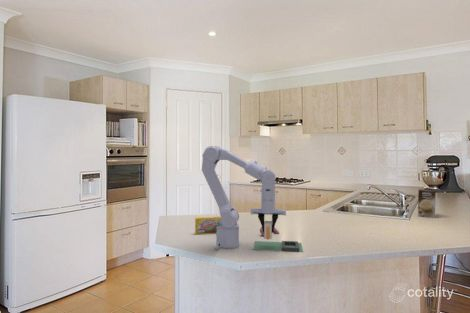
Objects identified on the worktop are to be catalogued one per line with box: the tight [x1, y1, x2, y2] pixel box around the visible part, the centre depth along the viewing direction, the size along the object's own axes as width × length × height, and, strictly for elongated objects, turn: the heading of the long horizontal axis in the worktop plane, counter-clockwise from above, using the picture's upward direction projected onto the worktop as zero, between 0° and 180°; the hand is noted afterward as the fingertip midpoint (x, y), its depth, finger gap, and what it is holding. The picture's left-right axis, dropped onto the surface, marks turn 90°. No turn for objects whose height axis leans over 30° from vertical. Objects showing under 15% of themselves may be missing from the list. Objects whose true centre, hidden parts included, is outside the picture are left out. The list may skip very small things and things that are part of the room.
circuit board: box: [252, 240, 304, 253], centre depth 130 cm, size 20×12×1 cm, turn 82°
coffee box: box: [417, 189, 436, 219], centre depth 190 cm, size 9×6×16 cm
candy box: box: [194, 215, 222, 235], centre depth 154 cm, size 16×2×8 cm, turn 101°
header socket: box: [281, 240, 300, 253], centre depth 127 cm, size 7×9×2 cm
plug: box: [263, 220, 273, 240], centre depth 128 cm, size 3×5×6 cm, turn 172°
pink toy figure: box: [259, 226, 280, 237], centre depth 147 cm, size 10×5×7 cm, turn 141°
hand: (268, 231), depth 128 cm, fingers closed on plug, 3 cm apart
